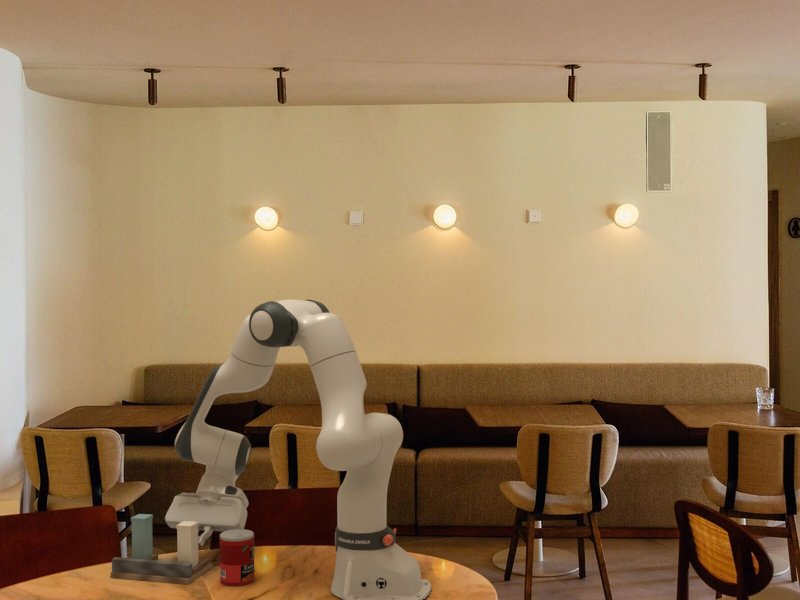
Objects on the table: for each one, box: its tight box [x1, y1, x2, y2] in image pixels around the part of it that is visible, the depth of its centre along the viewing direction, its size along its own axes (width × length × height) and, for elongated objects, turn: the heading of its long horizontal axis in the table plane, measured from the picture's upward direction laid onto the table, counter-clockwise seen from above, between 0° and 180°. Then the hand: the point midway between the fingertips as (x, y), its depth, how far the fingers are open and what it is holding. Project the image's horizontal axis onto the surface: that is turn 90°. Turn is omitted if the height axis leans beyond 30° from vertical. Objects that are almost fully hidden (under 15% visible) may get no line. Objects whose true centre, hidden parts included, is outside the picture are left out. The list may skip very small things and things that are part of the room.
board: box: [110, 553, 213, 585], centre depth 203 cm, size 20×12×4 cm, turn 76°
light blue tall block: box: [130, 513, 154, 560], centre depth 208 cm, size 4×4×11 cm
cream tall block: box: [175, 521, 199, 568], centre depth 201 cm, size 4×4×11 cm
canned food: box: [219, 528, 255, 587], centre depth 197 cm, size 8×8×11 cm
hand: (196, 544), depth 206 cm, fingers closed
